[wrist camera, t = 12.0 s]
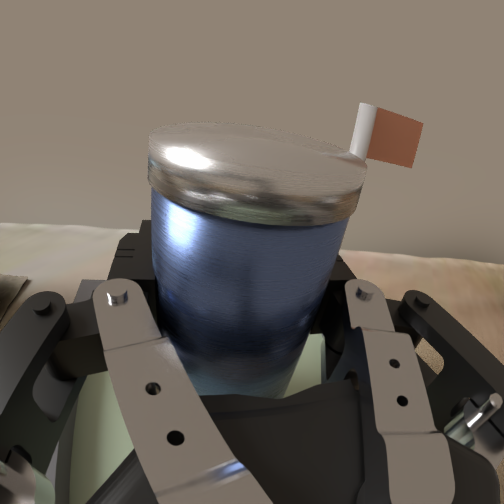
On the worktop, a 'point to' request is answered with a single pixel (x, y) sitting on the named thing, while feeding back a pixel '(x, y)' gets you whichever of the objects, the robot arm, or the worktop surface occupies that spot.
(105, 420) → the green tray
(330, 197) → the navy canister
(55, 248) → the worktop surface
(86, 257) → the worktop surface
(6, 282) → the condiment
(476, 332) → the worktop surface
